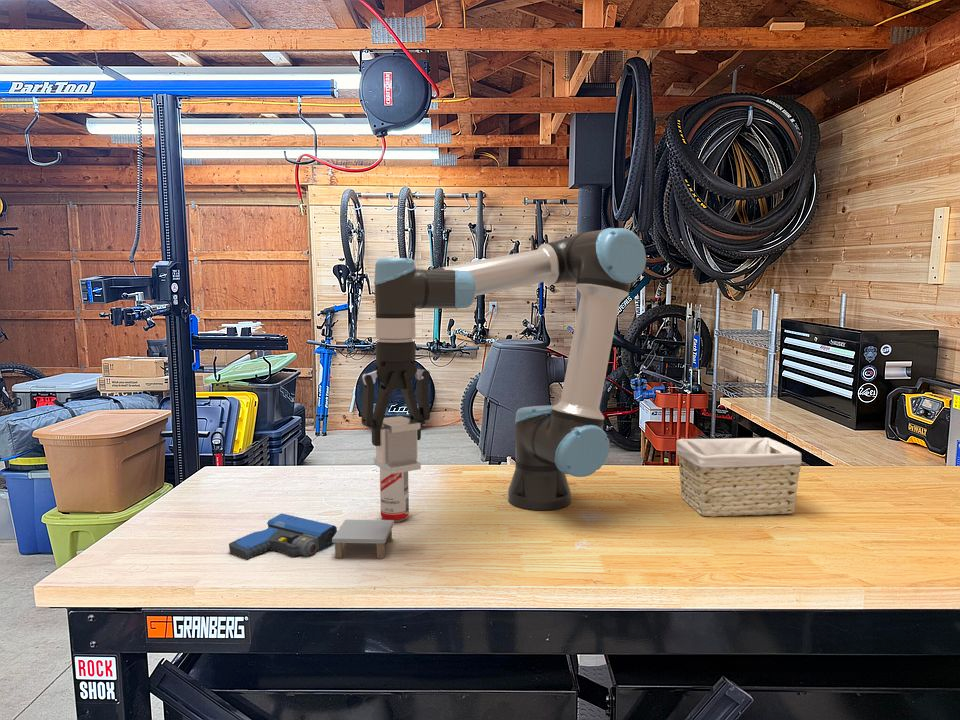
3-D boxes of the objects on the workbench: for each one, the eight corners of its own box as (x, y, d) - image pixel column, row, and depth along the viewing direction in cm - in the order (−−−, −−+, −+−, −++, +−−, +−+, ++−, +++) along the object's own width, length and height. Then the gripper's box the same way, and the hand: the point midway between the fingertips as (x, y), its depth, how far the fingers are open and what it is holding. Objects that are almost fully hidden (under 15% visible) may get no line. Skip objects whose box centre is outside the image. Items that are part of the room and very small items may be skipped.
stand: (394, 538, 129) (393, 520, 129) (384, 559, 120) (384, 539, 119) (345, 538, 130) (345, 519, 129) (332, 558, 120) (332, 538, 120)
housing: (420, 469, 121) (420, 422, 120) (392, 474, 118) (391, 426, 117) (401, 459, 127) (401, 415, 126) (374, 464, 124) (373, 419, 123)
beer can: (403, 524, 137) (402, 452, 136) (376, 522, 139) (375, 451, 137) (412, 514, 144) (411, 445, 142) (386, 512, 145) (385, 444, 143)
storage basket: (696, 519, 140) (699, 454, 139) (672, 495, 156) (673, 437, 155) (802, 517, 141) (806, 453, 139) (767, 494, 157) (769, 436, 156)
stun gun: (282, 557, 115) (338, 522, 127) (224, 540, 122) (282, 509, 135) (285, 577, 115) (339, 541, 128) (226, 560, 123) (284, 528, 136)
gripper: (429, 337, 128) (430, 448, 131) (340, 341, 118) (343, 462, 120) (448, 339, 122) (449, 456, 124) (356, 343, 111) (358, 471, 114)
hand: (397, 459), depth 122 cm, fingers closed on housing, 6 cm apart
